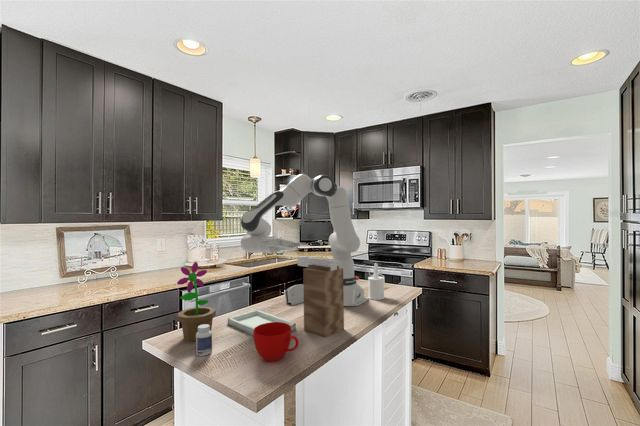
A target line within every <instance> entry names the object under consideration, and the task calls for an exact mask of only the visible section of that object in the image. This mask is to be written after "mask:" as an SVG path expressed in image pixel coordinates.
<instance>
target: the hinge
mask: <svg viewBox="0 0 640 426" xmlns="http://www.w3.org/2000/svg"><path fill="white" fill-rule="evenodd" d="M284 297H285V304H291V306H294V305H297V304H300V303H304V285H303V283H301V284H294V285H292V286H290V287H288V288H287V289H285V291H284Z"/></svg>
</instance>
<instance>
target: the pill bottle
mask: <svg viewBox="0 0 640 426" xmlns="http://www.w3.org/2000/svg"><path fill="white" fill-rule="evenodd" d="M212 332H213V331H212V330H211V331H210V325H208V324H203V325H200V326H198V332H197V333H196V342H195V353H196V355H197V356H198V355H199V356H198V357H204V356H205V355H206V356H209V355H210V354H212V352H213V333H212ZM208 354H209V355H208ZM206 356H205V357H206Z"/></svg>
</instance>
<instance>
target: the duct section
mask: <svg viewBox="0 0 640 426" xmlns="http://www.w3.org/2000/svg"><path fill="white" fill-rule="evenodd" d="M296 261H297V266H299V267H305V268H308V265H313V266H320V267H326V268H330V271H332V270H337V260H334V259H333V258H326V257H318V256H317V257H316V256H310V255H300V256H297V259H296Z"/></svg>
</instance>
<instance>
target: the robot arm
mask: <svg viewBox="0 0 640 426" xmlns="http://www.w3.org/2000/svg"><path fill="white" fill-rule="evenodd" d="M308 194H311V195H313V196H315V197H326V200H327V202H328V209H329V210H328V211H329V216H330V217H329V218H330V223H331V225H332V226H333V229H334V232H332V233H331V234H330V235H329V237H328V243H329V245H330V249H331V254H332V259H334V260H337V266H339V268H343V295H344V307H351V306H352V307H357V306H361V305H362V304H364V303H366V302H367V301H369V298H368V296H366V295H365V290H364V288H363V287H362V286H361V285H359V284H358V283H357V281H359V280H360V277H359V276H357V275H356V276H355V262H354V260H353V259H354V258H353V257H352V254H351V253H354V252H357V251H358V250H359V249H360V246H361V240H360V237H359V236H358V234H357V232H356V230H355V228H354V227H355V226H354V224H353V221H352V215H351V209H350V202H349V198H348V194H347V190H346V188H344V186H340V185H337V184H336V182H335V181H334V179H333V178H332V177H331V176H329V175H327V174H320V175H317V176H315V177H314V178H311V177H310V176H308V175H307V174H305V173H300V174H298V175H297V176H295V177H294V178H293V179H291V180H290V181H289V182H288V183H287V184H286V185H285V186H284V187H283V188H281V189H279V190H275V191H274V192H272V193H271V194H269V195H268V196H266V197H265V199H263V200H262V201H260V202H259V203H258V204H256V206H254V207H253V208H251V209H250V210H247V212H245V213H244V214H243V215H242V216H241V219H240V226H241V228H242V229H243V230H245V231H247V232H248V233H247V234H246V235H245V236H243V237H242V238H241V239H240V247H241V249H242V250H243V251H244V252H246V253H252V254H255V253H256V254H260V253H263V254H264V253H265V254H274V253H277V252H281V253H282V251H291V250H296V248H298V247H301V243H300V242H295V241H292V240H288V239H282V238H279V237H277V236H276V235H274V234H271V232H272V226H271V224H270V223H269V222H268V221H266V219H264V218H263V216H265V215H266V214H267V213H268V212H270V211H271V210H272V209H273V208H274V207H277V206H283V207H285V208H293V207H296V206H297V205H298V204H299V203H300V202H301V201H302V200H303V199H304V198H305V197H306V196H307V195H308Z"/></svg>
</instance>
